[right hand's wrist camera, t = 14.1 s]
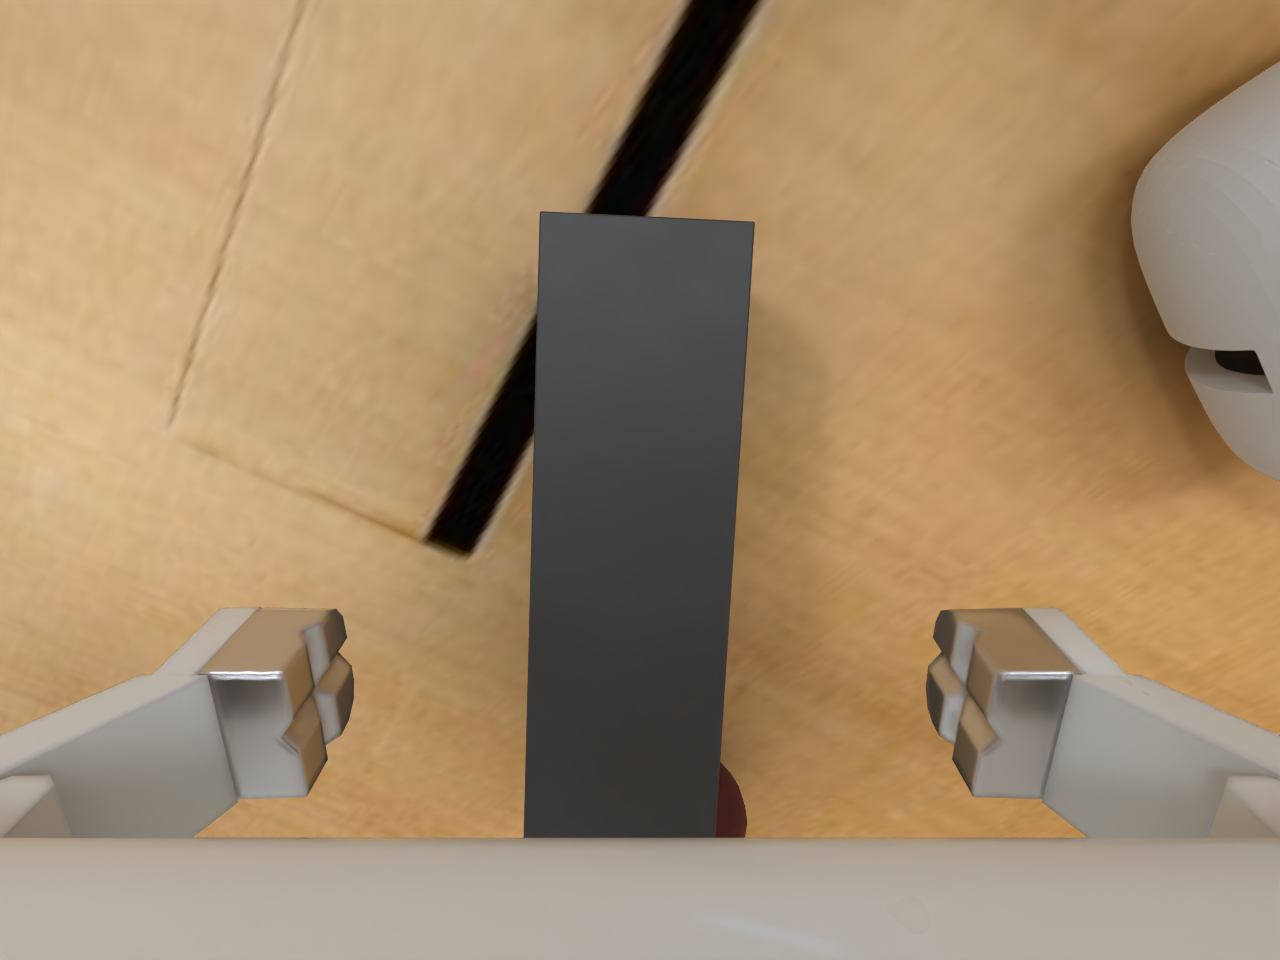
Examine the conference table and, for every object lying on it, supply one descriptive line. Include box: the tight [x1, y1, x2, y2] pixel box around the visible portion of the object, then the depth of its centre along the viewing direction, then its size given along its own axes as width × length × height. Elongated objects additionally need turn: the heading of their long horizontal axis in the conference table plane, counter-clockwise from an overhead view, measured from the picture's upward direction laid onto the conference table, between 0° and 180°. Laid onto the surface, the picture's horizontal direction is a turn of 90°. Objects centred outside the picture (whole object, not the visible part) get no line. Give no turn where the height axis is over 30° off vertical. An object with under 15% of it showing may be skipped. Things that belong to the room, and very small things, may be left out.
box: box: [524, 211, 755, 838], centre depth 29 cm, size 25×6×10 cm, turn 177°
